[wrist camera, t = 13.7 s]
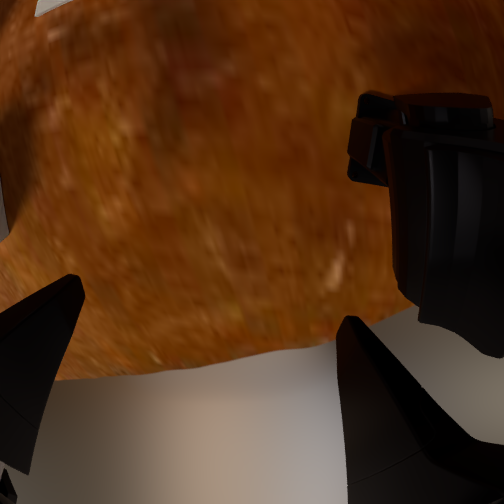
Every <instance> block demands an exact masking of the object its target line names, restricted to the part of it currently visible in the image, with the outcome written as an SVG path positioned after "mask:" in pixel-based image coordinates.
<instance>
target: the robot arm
mask: <svg viewBox="0 0 504 504" xmlns="http://www.w3.org/2000/svg"><path fill="white" fill-rule="evenodd" d="M365 97H366V98H367V99H368V103H367V104H365V103H364V98H365ZM393 99H394V101H391V100H388V99H384V98H381V97H377V96H374V95H370V94H361V95H360V96H359V99H358V106H357V114H356V117H355V118H354V119H352V123H351V130H350V137H349V144H348V150H347V153H348V154H349V156H350V160H349V165H348V171H347V175H348V177H349V178H350V179H351V180H352V181H355V182H361V183H367V184H373V185H379V186H384V187H389V196H390V208H391V224H392V259H393V270H394V274H395V277H396V280H397V282H398V289H399V290H400V291H401V293H402V294H403V295H404V296H405V297H406V298H407V299H408V300H410V301H411V302H412V303H414V304H415V305H416V306H418V307H420V308H419V314H418V321H419V322H420V323H425V324H430V325H436V326H440V327H443V328H445V329H448V330H450V331H452V332H455V333H456V334H458V335H459V336H461V337H462V338H464V339H465V340H466V341H468V342H469V343H470V344H471V345H473V346H474V347H475V348H476V349H477V350H479V351H480V352H481V353H483V354H485V355H488V356H491V357H495V358H503V357H504V120H501V119H496V118H493V109H492V105H491V102H490V99H489V97H487V96H481V95H474V94H466V93H425V94H409V95H397V96H393ZM355 171H356V172H357V174H356V176H354V177H353V176H352V173H353V172H355ZM84 300H85V292H84V289H83V285H82V282H81V279H80V277H79V276H78V275H74V274H68V275H66V276H64V277H62V278H60V279H58V280H57V281H55V282H53V283H51V284H49V285H47V286H46V287H44V288H42V289H40V290H39V291H37V292H35V293H33V294H32V295H30V296H28V297H26V298H25V299H23V300H21V301H20V302H18V303H16V304H15V305H13V306H11V307H10V308H8V309H6V310H5V311H3V312H1V313H0V504H16V501H17V494H16V492H15V490H14V487H13V485H12V483H11V480H10V478H9V475H8V472H7V470H6V469H5V468H4V466H5V464H7V465H8V466H10V467H12V468H14V469H16V470H18V471H20V472H22V473H24V474H26V475H29V472H30V466H31V461H32V456H33V452H34V447H35V443H36V439H37V435H38V430H39V427H40V423H41V420H42V416H43V413H44V409H45V406H46V403H47V400H48V397H49V394H50V391H51V388H52V385H53V382H54V380H55V377H56V374H57V371H58V369H59V366H60V364H61V361H62V359H63V356H64V354H65V351H66V349H67V346H68V344H69V342H70V339H71V337H72V334H73V331H74V329H75V326H76V323H77V320H78V317H79V314H80V311H81V308H82V306H83V303H84ZM336 349H337V379H338V388H339V396H340V404H341V413H342V421H343V432H344V442H345V454H346V468H347V485H348V486H347V489H348V504H504V445H500V444H494V443H488V442H483V441H479V440H477V439H475V438H473V437H471V436H470V435H469V434H468V433H467V432H466V431H465V430H464V429H463V428H461V427H460V426H459V425H458V424H457V423H456V422H455V421H454V420H453V419H452V418H451V417H450V416H449V415H448V414H447V413H446V412H445V411H444V410H443V409H442V408H441V407H440V406H439V405H438V404H437V403H436V402H435V401H434V400H433V398H432V397H431V396H430V395H429V394H428V393H427V392H426V391H425V389H424V388H421V385H420V384H419V383H418V381H417V380H416V379H415V378H414V377H413V376H412V375H411V374H410V372H409V371H408V370H407V369H406V368H405V367H404V366H403V365H402V364H401V362H400V361H399V360H398V359H397V358H396V357H395V356H394V355H393V354H392V353H391V351H390V350H389V349H388V348H387V347H386V346H385V345H384V344H383V343H382V342H381V341H380V339H379V338H378V337H377V336H376V335H375V334H374V333H373V332H372V331H371V330H370V329H369V328H368V327H367V325H366V324H365V323H364V322H363V321H362V320H361V319H360V318H359V317H357V316H349V315H348V316H346V317H345V318H344V319H343V321H342V323H341V325H340V327H339V329H338V331H337V334H336Z"/></svg>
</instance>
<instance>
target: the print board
mask: <svg viewBox="0 0 504 504" xmlns="http://www.w3.org/2000/svg"><path fill="white" fill-rule="evenodd" d="M70 1H72V0H38V3H37V7H36V12H35V17H39V16H40V15H42V14H44V13H46V12H48V11H50V10H52V9H54V8H56V7H59V6H61V5H63V4H65V3H67V2H70Z"/></svg>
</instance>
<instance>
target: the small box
mask: <svg viewBox="0 0 504 504" xmlns="http://www.w3.org/2000/svg"><path fill="white" fill-rule="evenodd" d="M8 235H9V230H8V225H7V220H6V215H5V209H4V202H3V195H2V188H1V179H0V242H1V241H3V240H4V239H5V238H6V237H7V236H8Z"/></svg>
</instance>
